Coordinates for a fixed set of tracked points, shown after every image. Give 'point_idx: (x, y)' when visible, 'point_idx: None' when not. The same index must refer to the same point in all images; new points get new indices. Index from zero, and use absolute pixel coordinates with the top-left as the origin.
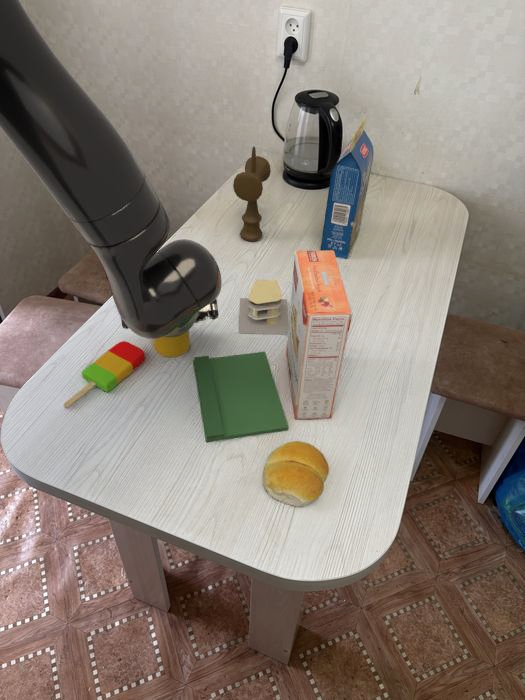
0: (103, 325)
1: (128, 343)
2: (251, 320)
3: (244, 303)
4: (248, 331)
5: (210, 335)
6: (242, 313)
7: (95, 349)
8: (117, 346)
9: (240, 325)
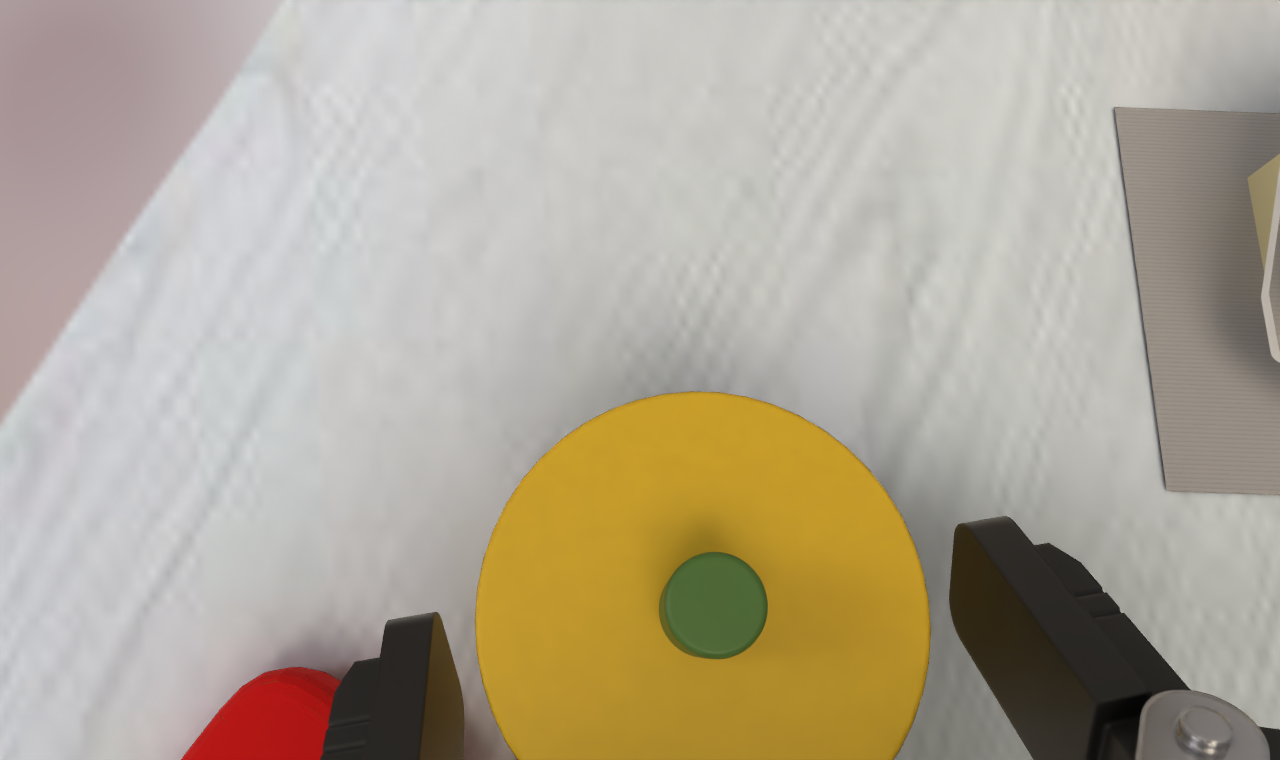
0: (130, 400)
1: (319, 714)
2: (1238, 346)
3: (1157, 164)
4: (1237, 470)
5: (953, 513)
6: (1159, 270)
7: (74, 680)
8: (225, 754)
9: (1167, 404)
